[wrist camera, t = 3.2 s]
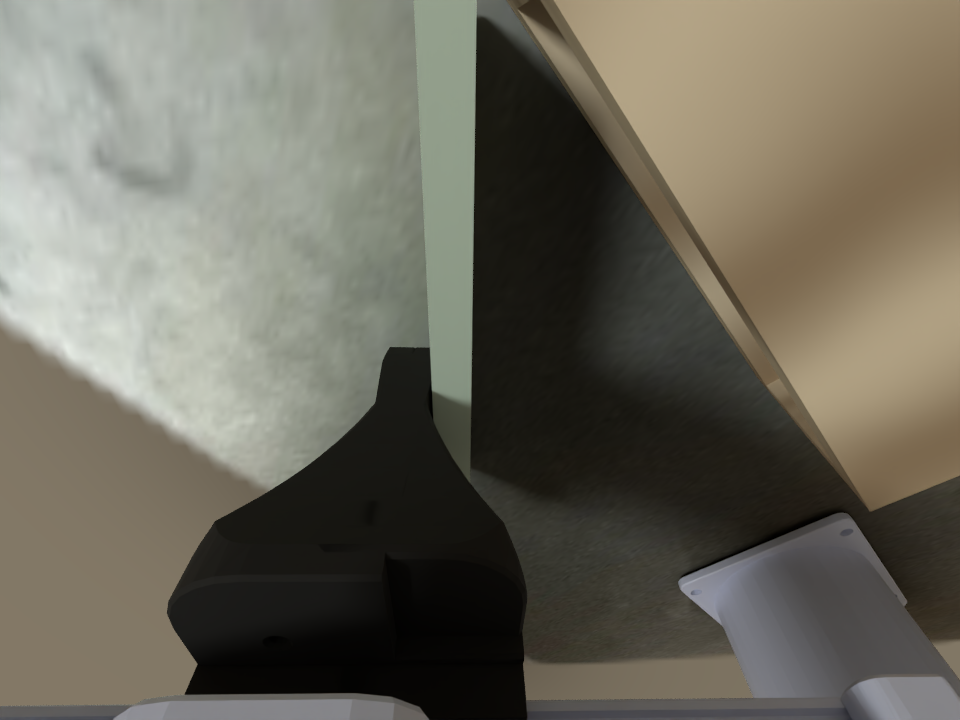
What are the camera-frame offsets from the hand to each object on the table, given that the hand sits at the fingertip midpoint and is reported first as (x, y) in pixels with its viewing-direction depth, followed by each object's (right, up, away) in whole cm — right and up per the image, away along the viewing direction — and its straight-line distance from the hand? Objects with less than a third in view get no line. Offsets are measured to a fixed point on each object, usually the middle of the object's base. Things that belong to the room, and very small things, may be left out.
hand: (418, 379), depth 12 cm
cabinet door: (0, +2, +2) cm, 3 cm away
